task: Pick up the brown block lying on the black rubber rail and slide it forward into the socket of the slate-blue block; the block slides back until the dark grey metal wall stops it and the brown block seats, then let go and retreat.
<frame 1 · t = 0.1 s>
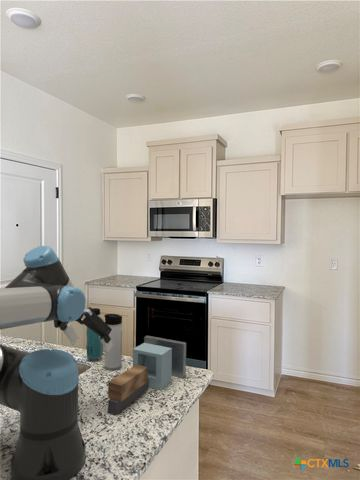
hand: (92, 344, 104), 15 cm above the countertop, tool tilted 35°, fingers open, 13 cm apart
brown block: (128, 389, 99), point 3 cm above the countertop, touching rail
rail: (129, 400, 100), on the countertop
wall: (164, 372, 119), on the countertop
teal cylinder: (94, 359, 131), on the countertop
socket block: (152, 365, 111), point 6 cm above the countertop, slide at 0.0 cm
travel mug: (112, 368, 123), on the countertop
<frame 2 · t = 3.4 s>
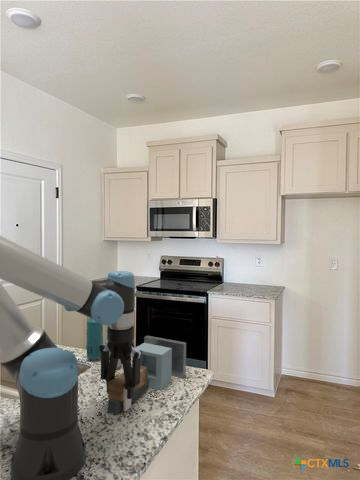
hand: (119, 406, 95), 0 cm above the countertop, tool pointing down, fingers closed on brown block, 4 cm apart
brown block: (128, 389, 99), point 4 cm above the countertop, touching gripper, rail
everything else where it was.
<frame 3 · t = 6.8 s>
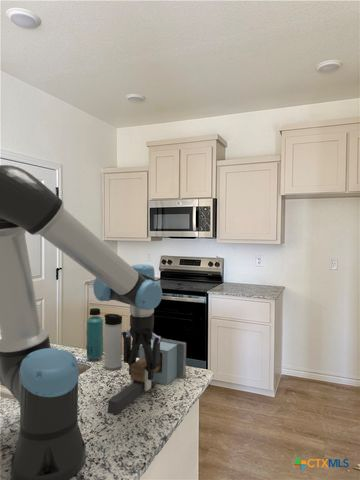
hand: (140, 387, 105), 1 cm above the countertop, tool pointing down, fingers closed on brown block, 4 cm apart
brown block: (148, 371, 109), point 5 cm above the countertop, touching gripper, socket block
socket block: (158, 361, 115), point 6 cm above the countertop, slide at 4.0 cm, touching brown block, wall
everything else where it was.
when the fingers open (1 cm above the countertop, at t = 7.8 s): brown block stays where it is, resting on rail, socket block.
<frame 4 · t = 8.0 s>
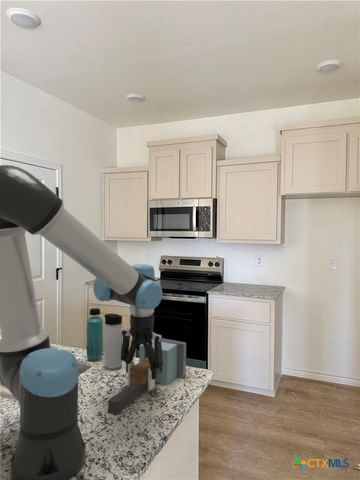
hand: (141, 385, 105), 2 cm above the countertop, tool pointing down, fingers open, 7 cm apart
brown block: (148, 375, 109), point 3 cm above the countertop, touching rail, socket block
everything else where it was.
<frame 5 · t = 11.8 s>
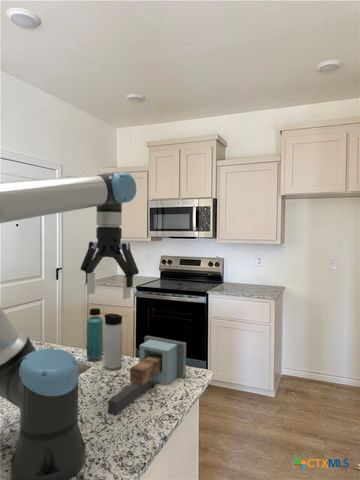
hand: (108, 295, 102), 31 cm above the countertop, tool pointing down, fingers open, 13 cm apart
nothing on the countertop moved.
at the end: socket block slide at 4.0 cm; brown block 0.3 cm from the target spot on the socket block, point 3.3 cm above the socket block's base; the gripper is holding nothing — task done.
